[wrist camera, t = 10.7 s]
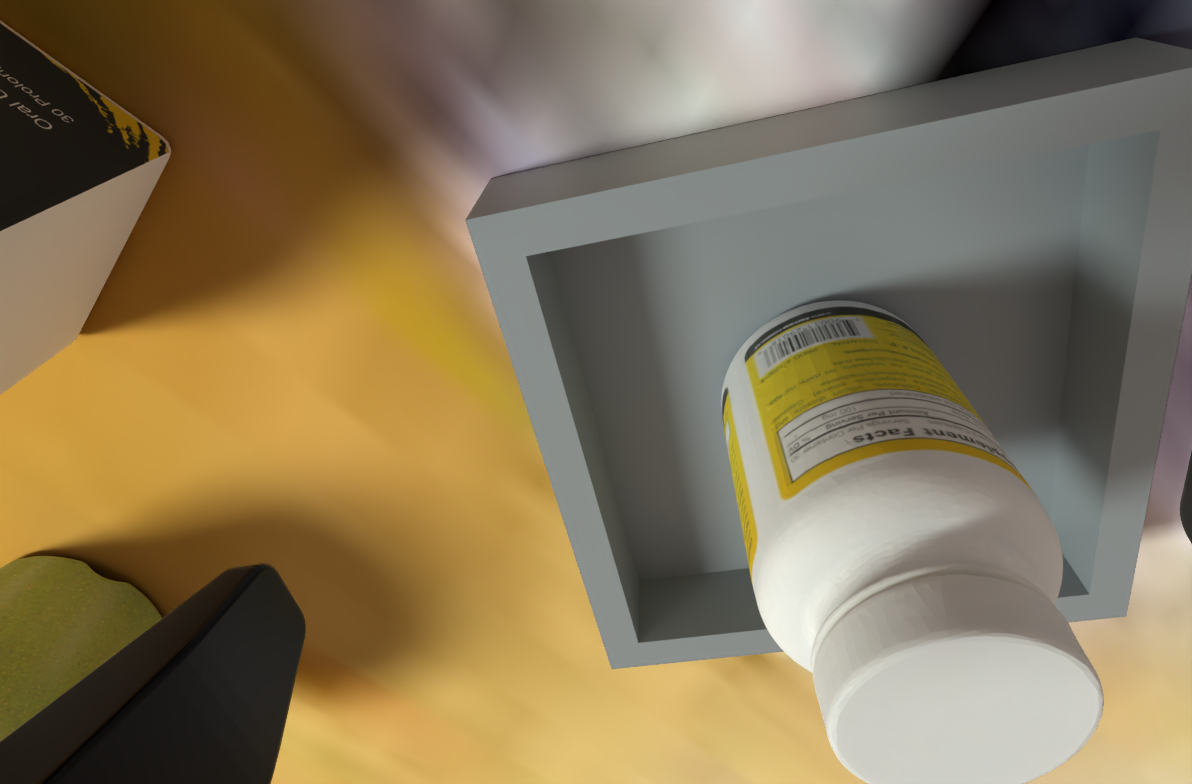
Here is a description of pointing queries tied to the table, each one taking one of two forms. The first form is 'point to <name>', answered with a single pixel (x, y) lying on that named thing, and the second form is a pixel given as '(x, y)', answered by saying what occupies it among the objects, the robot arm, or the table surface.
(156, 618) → the plant pot
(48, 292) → the medicine bottle
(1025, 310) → the slate tray
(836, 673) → the supplement bottle
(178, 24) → the table surface
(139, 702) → the robot arm
